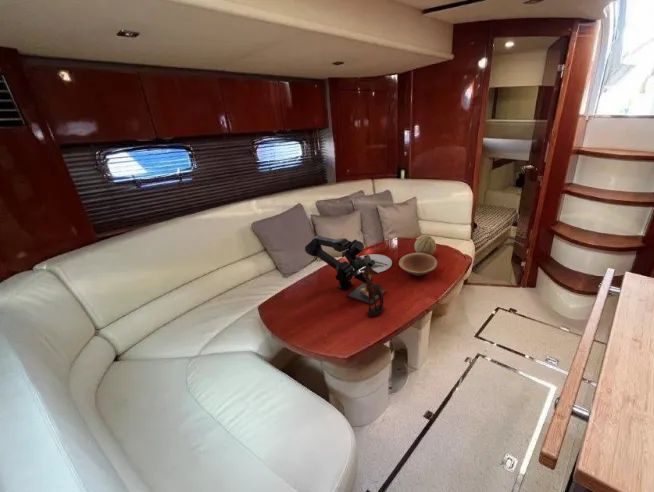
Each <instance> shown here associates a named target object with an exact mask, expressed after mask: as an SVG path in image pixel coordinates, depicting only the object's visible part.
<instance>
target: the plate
mask: <svg viewBox="0 0 654 492" xmlns="http://www.w3.org/2000/svg"><path fill="white" fill-rule="evenodd" d="M366 255H367V254H364V255H360V256H359V257H361V258H362V259H363V258H364V256H366ZM368 255H369V256H370V258H371V260H374V261H375V264H374V265H373V266H372V267H371V268H372V269H373V270H375V271H376V272H377V274H379V273H382V272H383V273H384V272H385V271H387V270H389V269H390V268H391V267H392V265H393V261H392V259H391V258H390V257H389V256H386V255H384V254H377V253H370V254H369V253H368ZM369 261H370V260H369ZM353 270H354V269H353ZM361 272H364V271H361ZM363 275H364V273H363Z"/></svg>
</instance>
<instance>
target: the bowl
mask: <svg viewBox="0 0 654 492" xmlns="http://www.w3.org/2000/svg"><path fill="white" fill-rule="evenodd" d="M398 266H399V267H400V268H401V269H402V270H403V271H405V272H406V273H408V274H410V275H412V276H416V277H421V276H424V275H426V274H429V273H431V272H432V271H433V270H435V269H436V268H437V266H438V260H437V258H436V257H434V256H433V255H429V254H425V253H416V252H412V253H408V254H406V255H403V256H402V257H401V258H400V259H399V261H398Z"/></svg>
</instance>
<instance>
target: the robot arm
mask: <svg viewBox="0 0 654 492" xmlns="http://www.w3.org/2000/svg"><path fill="white" fill-rule="evenodd" d="M322 246H323V247H328V248H332V249H333V250H334V251H336V252H338V253H341V258H345V259H346V260H347V261H342V262H341V261H339V260H338V259H336V258H335V257H334V256H332V255H331V254H329V253H328V252H326V251H325V250H324V249H323V247H322ZM363 250H365V244H364V243H363V242H362V241H360V240H357V239H356V238H355V239H354V240H353V239H352V240H351V241H350V240H348V239H347V238H336V239H335V238H330V237H325V236H322V235H317V236H315V237H313V238H312V239H311V241H310V242H309V243H308V244H306V245H305V246H304V251H305V253H307V254H308V255H309V256H311V257H317V258H319V259H320V260H321V261H323V262H324V263H326V264H327V265H328V266H330V267H331V268H333V269H334V270H335V271H336V275H335V276H334V277H335V279H336V280H337V281H338V284H339V285H338V286H337V288H338V289H341V290H344V291H347V290H349V289H350V288H351V287H353V286H354V284H352V279H354V280H358V281H360V282H362V283H363V284H365V283H366V280H365V275H364V274H363V273H364V272H361V271H365V262H366V263H367V264H368V265H369V267H370V268H371V267H372V266H373V265H374V264H375V261H374V260H371V258H370V256H369V254H365V255H366V256H364V258H363V259H362V258H361V257H360V256H358V255H359V254H360V253H361V252H362V251H363ZM369 260H370V261H369ZM353 269H354V270H353ZM353 277H354V278H353ZM371 281H372V282H374V279H373V277H372V275H371ZM366 284H367V283H366Z"/></svg>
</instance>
